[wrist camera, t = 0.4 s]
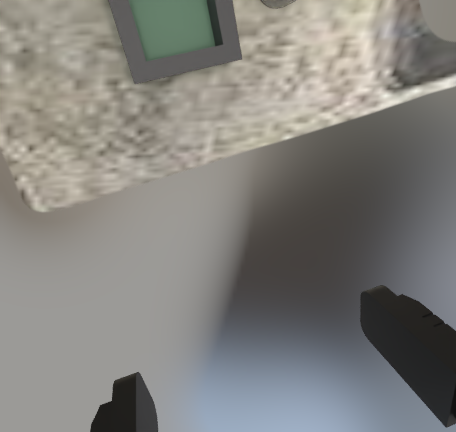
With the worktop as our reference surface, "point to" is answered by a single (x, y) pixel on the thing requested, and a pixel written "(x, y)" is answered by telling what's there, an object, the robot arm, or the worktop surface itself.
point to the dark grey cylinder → (277, 3)
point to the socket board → (175, 35)
